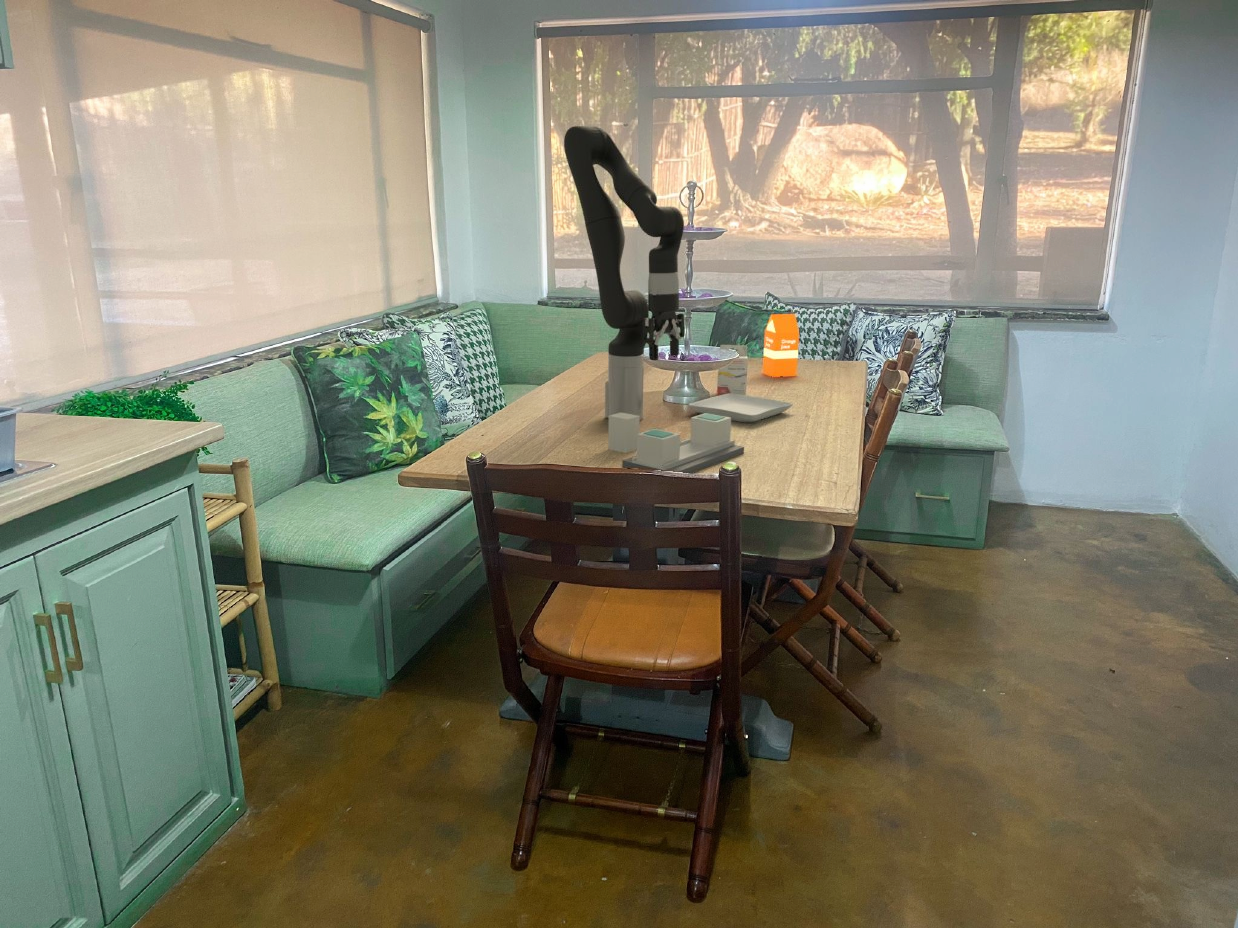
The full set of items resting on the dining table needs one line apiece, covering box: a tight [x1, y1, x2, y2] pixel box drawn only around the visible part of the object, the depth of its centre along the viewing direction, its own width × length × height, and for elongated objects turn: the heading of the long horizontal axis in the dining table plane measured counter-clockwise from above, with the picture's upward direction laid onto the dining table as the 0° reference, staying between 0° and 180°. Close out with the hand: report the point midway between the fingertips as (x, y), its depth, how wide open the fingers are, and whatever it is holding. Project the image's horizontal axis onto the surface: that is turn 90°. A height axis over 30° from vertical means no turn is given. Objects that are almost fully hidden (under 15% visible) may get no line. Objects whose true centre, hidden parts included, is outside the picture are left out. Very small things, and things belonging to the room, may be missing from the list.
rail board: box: [621, 413, 745, 474], centre depth 200 cm, size 14×27×8 cm, turn 140°
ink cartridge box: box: [716, 344, 749, 396], centre depth 266 cm, size 9×5×15 cm, turn 84°
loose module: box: [607, 413, 640, 454], centre depth 208 cm, size 6×4×8 cm
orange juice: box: [762, 313, 800, 378], centre depth 298 cm, size 8×9×20 cm
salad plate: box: [688, 393, 793, 423], centre depth 244 cm, size 21×21×3 cm
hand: (664, 357), depth 223 cm, fingers open, 8 cm apart
